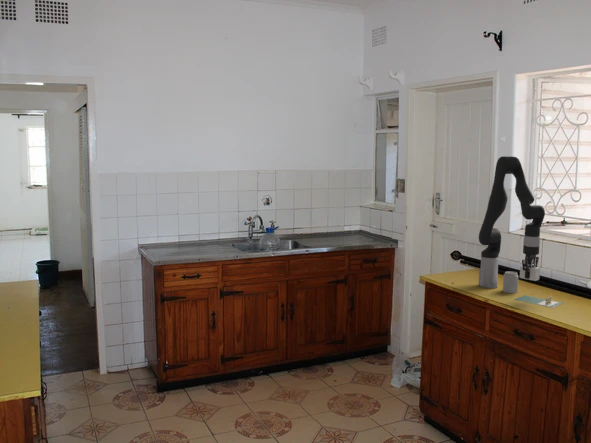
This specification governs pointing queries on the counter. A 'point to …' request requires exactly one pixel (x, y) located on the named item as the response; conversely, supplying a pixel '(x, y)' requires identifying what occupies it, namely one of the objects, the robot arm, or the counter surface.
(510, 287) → the can
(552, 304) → the board
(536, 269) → the block
